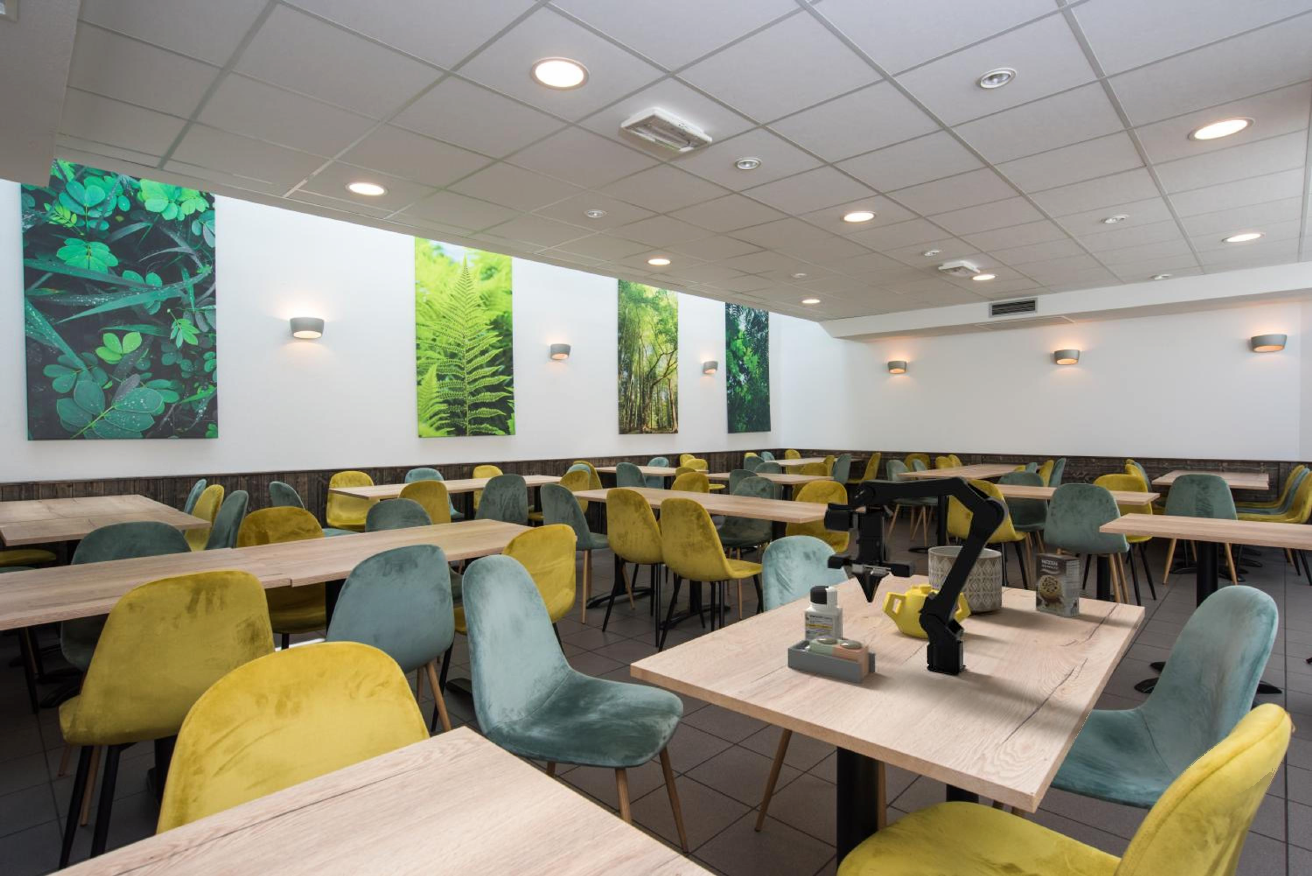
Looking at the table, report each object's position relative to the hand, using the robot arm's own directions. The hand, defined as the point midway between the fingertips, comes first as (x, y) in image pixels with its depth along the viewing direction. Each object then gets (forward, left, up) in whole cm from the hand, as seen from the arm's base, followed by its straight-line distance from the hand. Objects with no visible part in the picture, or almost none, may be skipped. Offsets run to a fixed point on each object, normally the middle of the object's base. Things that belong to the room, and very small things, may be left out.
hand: (870, 602), depth 155 cm
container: (+14, -5, -13) cm, 19 cm away
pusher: (+9, +14, -12) cm, 21 cm away
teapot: (-4, -27, -13) cm, 30 cm away
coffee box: (-28, -67, -13) cm, 74 cm away
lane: (+3, +14, -12) cm, 19 cm away
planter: (-6, -57, -13) cm, 59 cm away
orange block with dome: (-1, +14, -12) cm, 19 cm away
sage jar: (+4, +14, -12) cm, 19 cm away
